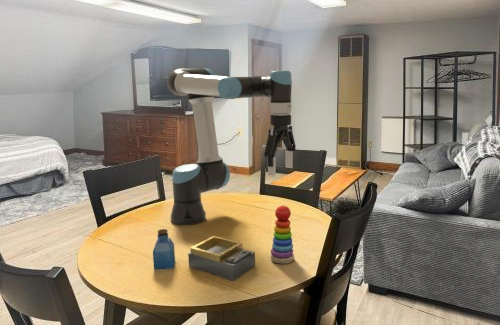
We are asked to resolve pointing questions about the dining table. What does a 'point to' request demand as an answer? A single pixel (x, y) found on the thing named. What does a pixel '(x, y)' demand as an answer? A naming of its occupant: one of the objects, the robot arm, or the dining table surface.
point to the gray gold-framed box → (221, 258)
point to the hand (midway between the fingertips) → (280, 171)
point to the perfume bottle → (163, 251)
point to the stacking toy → (282, 237)
